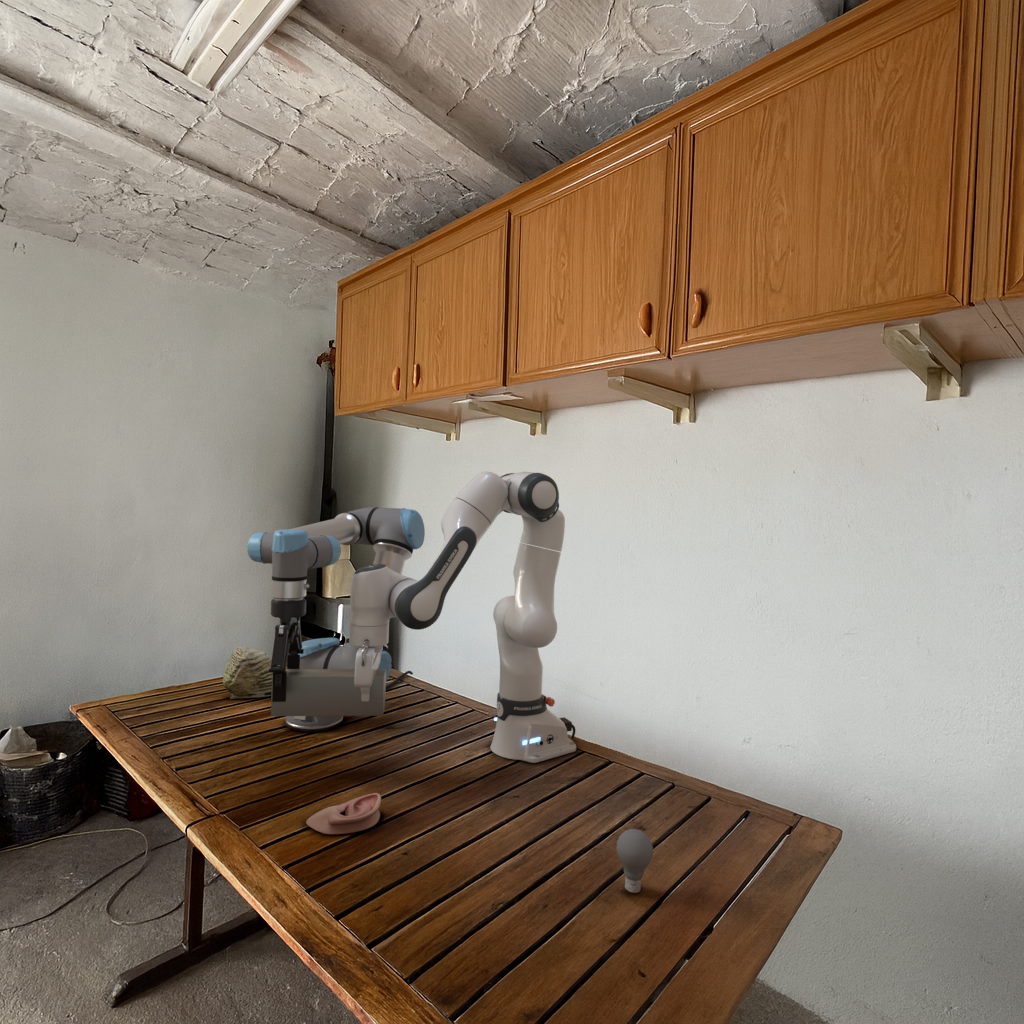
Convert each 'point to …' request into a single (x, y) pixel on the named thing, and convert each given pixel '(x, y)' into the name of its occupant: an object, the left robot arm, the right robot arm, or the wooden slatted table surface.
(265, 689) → the fossil
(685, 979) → the wooden slatted table surface
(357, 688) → the bar
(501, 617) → the right robot arm
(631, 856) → the light bulb
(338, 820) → the anatomical model
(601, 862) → the wooden slatted table surface
